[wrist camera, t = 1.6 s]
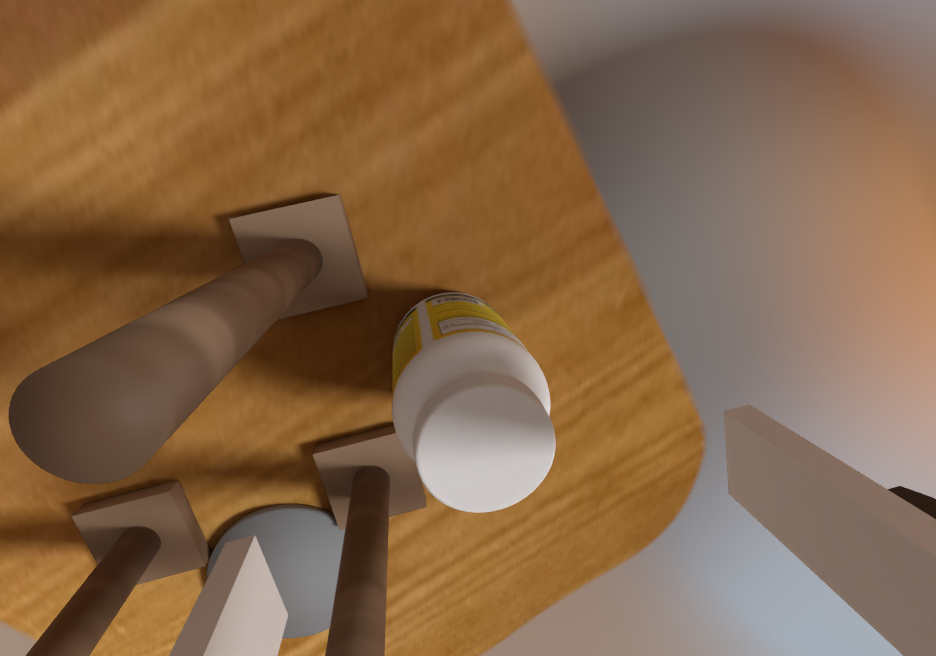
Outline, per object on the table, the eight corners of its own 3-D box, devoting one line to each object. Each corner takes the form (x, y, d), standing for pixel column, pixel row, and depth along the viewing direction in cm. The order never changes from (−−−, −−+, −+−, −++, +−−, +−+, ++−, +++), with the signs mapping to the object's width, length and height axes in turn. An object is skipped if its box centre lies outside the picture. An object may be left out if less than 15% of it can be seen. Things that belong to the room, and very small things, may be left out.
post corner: (315, 444, 27) (177, 874, 10) (404, 422, 27) (412, 801, 10) (341, 518, 28) (258, 997, 12) (425, 496, 29) (461, 931, 12)
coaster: (186, 528, 27) (181, 535, 26) (345, 486, 28) (344, 492, 27) (242, 646, 30) (239, 655, 29) (386, 605, 30) (385, 614, 30)
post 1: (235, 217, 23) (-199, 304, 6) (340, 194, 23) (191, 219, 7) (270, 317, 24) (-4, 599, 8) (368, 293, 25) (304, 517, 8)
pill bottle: (433, 418, 27) (455, 565, 17) (369, 331, 25) (348, 434, 15) (527, 359, 27) (609, 471, 16) (469, 266, 25) (520, 325, 15)
